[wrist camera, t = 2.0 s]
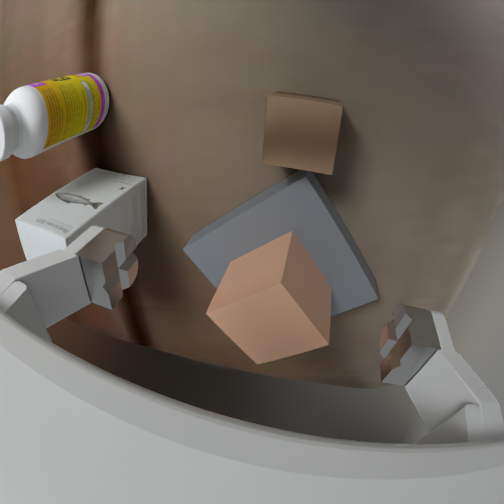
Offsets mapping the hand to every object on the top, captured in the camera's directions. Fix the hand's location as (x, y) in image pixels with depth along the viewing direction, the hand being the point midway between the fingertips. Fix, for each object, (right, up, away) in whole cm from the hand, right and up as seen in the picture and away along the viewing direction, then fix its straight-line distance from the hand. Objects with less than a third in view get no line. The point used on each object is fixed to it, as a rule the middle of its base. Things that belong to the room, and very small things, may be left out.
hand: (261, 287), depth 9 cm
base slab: (+3, +1, +22) cm, 22 cm away
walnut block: (+4, +12, +14) cm, 19 cm away
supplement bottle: (-17, +17, +17) cm, 30 cm away
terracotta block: (+3, -1, +20) cm, 20 cm away
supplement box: (-15, +7, +23) cm, 28 cm away
